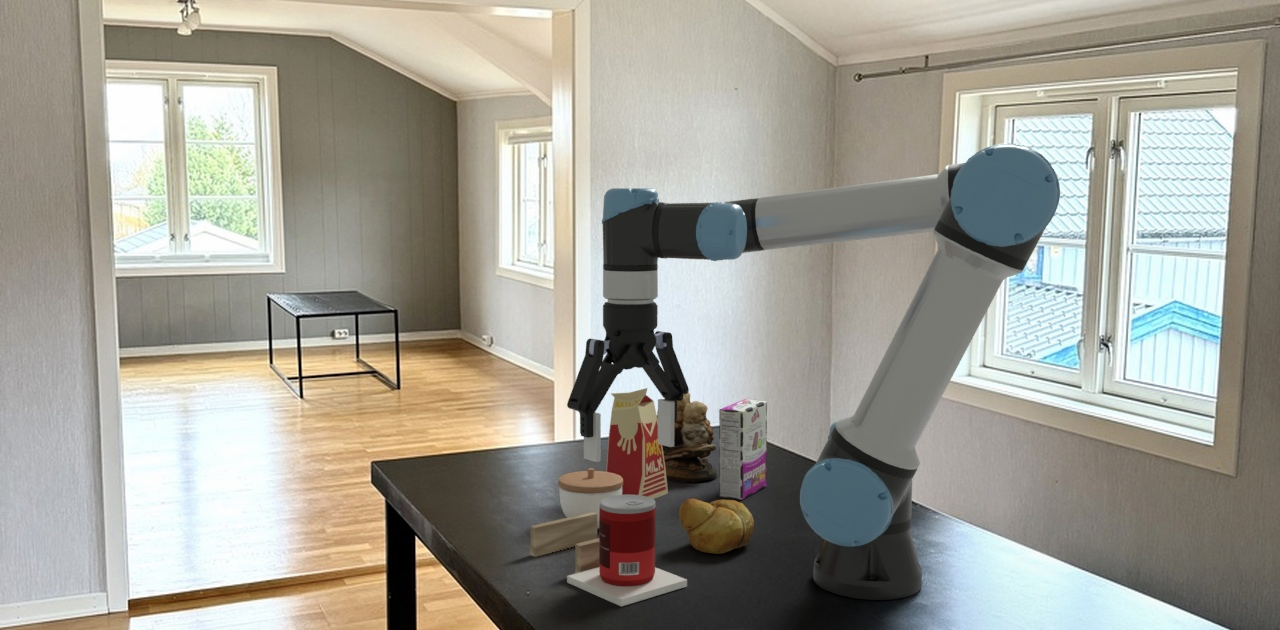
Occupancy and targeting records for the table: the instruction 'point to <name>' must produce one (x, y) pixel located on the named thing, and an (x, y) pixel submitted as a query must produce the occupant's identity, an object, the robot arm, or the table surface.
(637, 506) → the canned food
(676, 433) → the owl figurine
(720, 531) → the bread roll
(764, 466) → the candy bar box
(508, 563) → the table surface
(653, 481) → the milk carton
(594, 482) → the lidded jar
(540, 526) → the cradle
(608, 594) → the coaster
